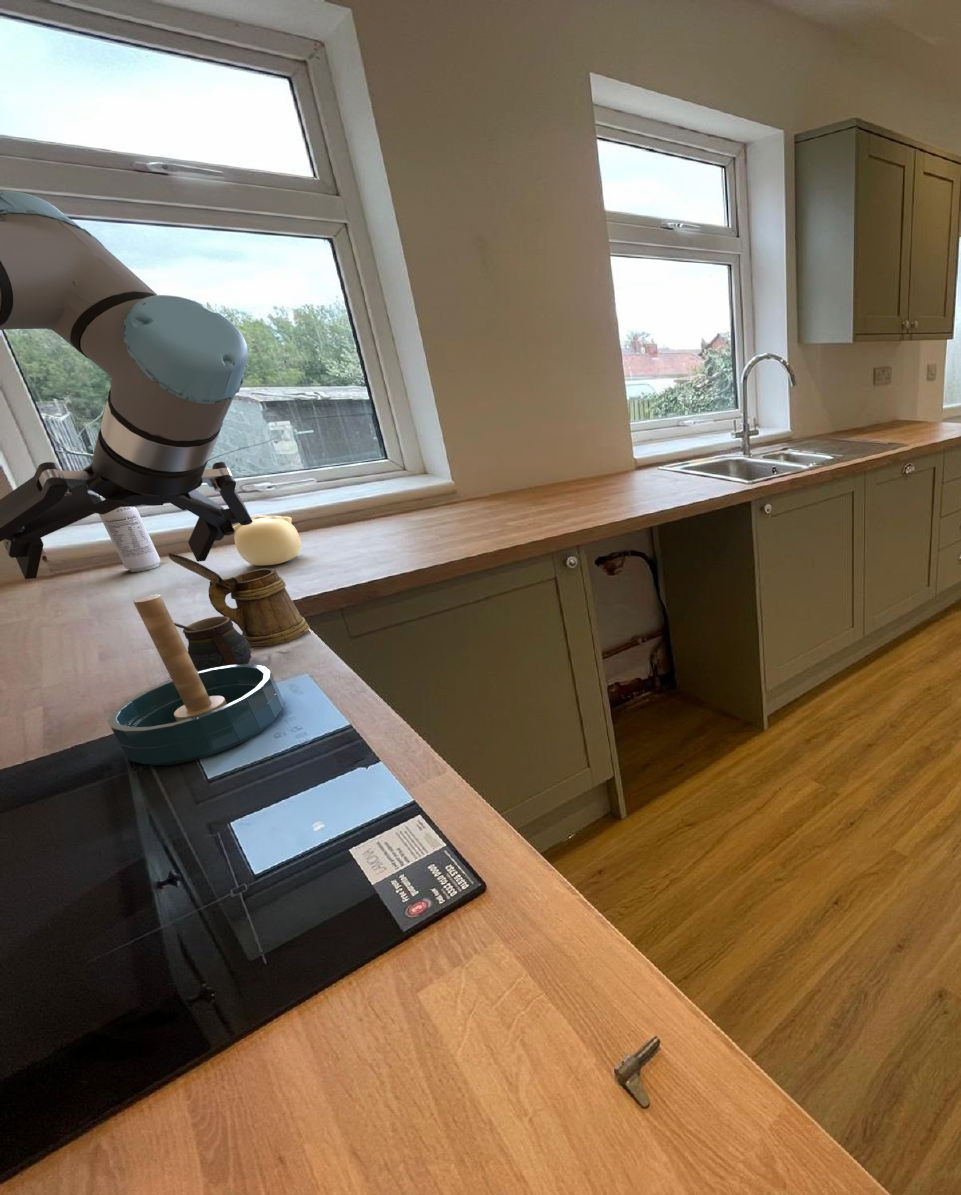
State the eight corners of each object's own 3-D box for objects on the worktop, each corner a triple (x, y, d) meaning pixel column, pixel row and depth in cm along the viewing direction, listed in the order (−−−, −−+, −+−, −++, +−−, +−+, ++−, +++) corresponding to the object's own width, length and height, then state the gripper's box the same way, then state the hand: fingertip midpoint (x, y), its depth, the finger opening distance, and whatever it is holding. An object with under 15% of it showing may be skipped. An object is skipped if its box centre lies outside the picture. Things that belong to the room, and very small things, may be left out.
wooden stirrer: (180, 742, 80) (113, 610, 73) (186, 723, 84) (122, 597, 77) (231, 727, 83) (171, 598, 75) (235, 710, 86) (177, 586, 79)
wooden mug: (201, 655, 104) (151, 550, 97) (290, 621, 115) (252, 524, 108) (231, 665, 100) (182, 556, 93) (321, 628, 112) (283, 529, 104)
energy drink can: (164, 561, 151) (136, 499, 145) (159, 568, 147) (129, 504, 141) (130, 567, 148) (99, 504, 142) (124, 574, 144) (92, 509, 138)
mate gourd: (266, 664, 100) (241, 606, 96) (206, 688, 94) (177, 626, 90) (245, 655, 103) (220, 598, 99) (186, 677, 98) (157, 617, 94)
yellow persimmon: (304, 549, 155) (288, 506, 151) (308, 561, 146) (291, 515, 142) (244, 561, 148) (225, 516, 144) (245, 575, 140) (225, 527, 135)
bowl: (115, 787, 74) (92, 747, 71) (143, 725, 85) (124, 689, 83) (283, 736, 82) (267, 699, 79) (286, 686, 93) (272, 652, 91)
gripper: (293, 417, 72) (241, 521, 83) (-74, 398, 51) (-79, 542, 61) (321, 473, 71) (265, 571, 82) (-39, 477, 50) (-51, 609, 61)
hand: (118, 559), depth 72 cm, fingers open, 13 cm apart
